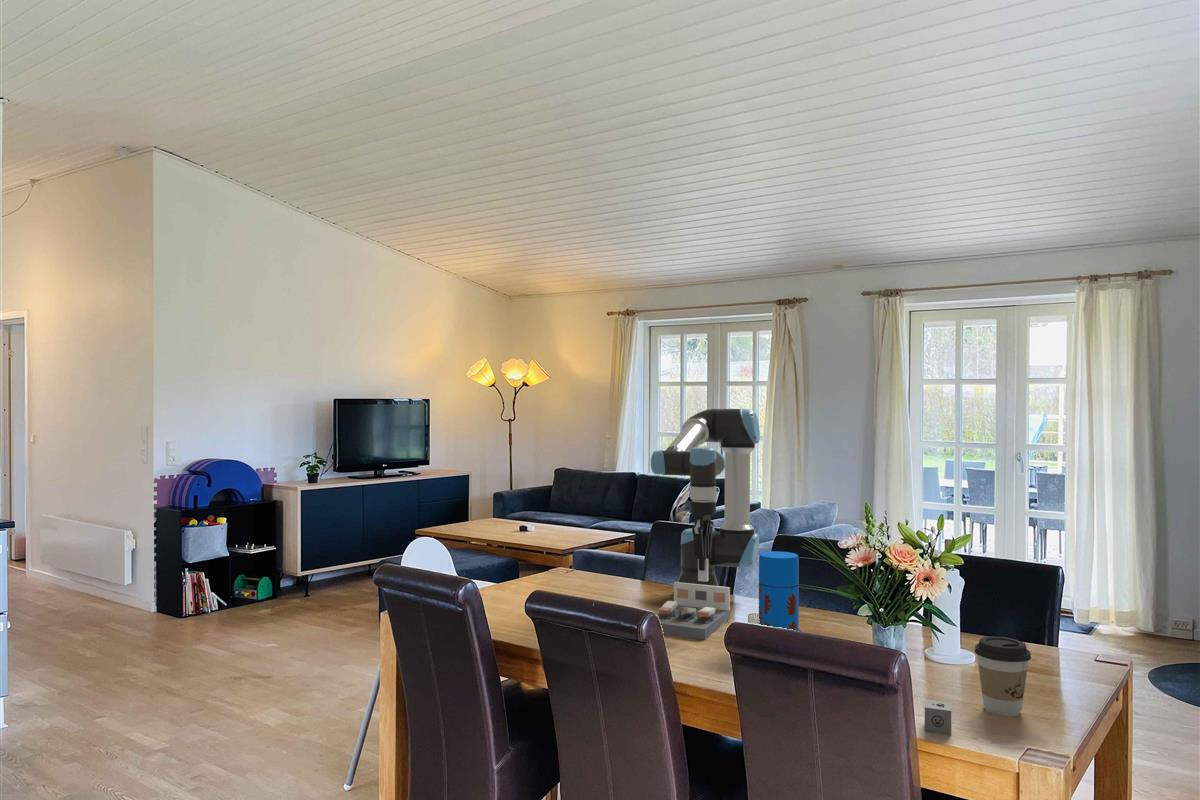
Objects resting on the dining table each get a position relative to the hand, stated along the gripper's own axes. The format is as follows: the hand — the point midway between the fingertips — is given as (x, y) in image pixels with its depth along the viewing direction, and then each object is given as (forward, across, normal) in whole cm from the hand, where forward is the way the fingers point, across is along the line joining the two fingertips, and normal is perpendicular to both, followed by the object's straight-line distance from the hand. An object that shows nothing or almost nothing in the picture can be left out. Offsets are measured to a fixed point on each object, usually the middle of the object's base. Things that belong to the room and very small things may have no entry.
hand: (703, 580), depth 247 cm
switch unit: (+15, -4, -6) cm, 17 cm away
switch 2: (+10, -2, -6) cm, 12 cm away
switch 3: (+10, -2, 0) cm, 10 cm away
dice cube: (+14, +49, +67) cm, 84 cm away
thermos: (+15, +4, +23) cm, 28 cm away
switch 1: (+10, -2, -12) cm, 16 cm away
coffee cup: (+15, +32, +79) cm, 86 cm away
